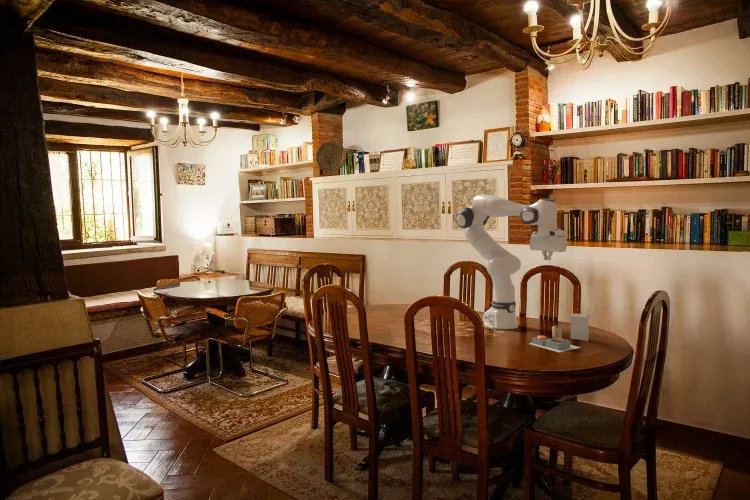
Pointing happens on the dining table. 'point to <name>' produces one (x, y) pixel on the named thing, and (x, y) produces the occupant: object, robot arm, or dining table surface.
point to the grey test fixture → (553, 345)
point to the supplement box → (579, 327)
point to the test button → (541, 338)
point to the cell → (557, 334)
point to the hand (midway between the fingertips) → (547, 260)
